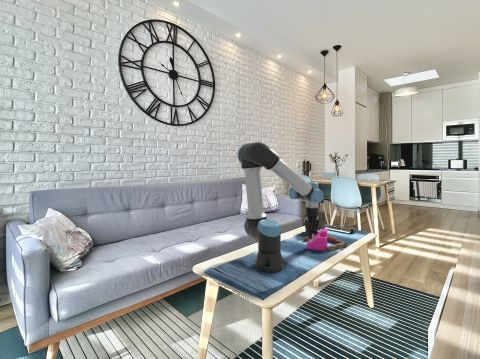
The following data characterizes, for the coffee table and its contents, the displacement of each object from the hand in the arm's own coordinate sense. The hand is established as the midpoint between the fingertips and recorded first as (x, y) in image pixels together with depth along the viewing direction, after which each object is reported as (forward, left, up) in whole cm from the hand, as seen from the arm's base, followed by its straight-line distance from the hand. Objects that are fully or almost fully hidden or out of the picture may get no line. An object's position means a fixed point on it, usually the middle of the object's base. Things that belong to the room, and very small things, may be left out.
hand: (311, 243), depth 157 cm
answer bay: (+11, 0, -2) cm, 11 cm away
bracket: (+3, -1, -2) cm, 4 cm away
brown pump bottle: (+24, +21, -2) cm, 32 cm away
